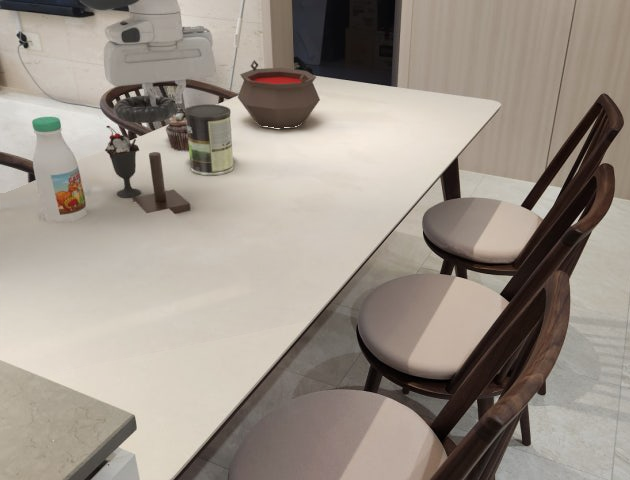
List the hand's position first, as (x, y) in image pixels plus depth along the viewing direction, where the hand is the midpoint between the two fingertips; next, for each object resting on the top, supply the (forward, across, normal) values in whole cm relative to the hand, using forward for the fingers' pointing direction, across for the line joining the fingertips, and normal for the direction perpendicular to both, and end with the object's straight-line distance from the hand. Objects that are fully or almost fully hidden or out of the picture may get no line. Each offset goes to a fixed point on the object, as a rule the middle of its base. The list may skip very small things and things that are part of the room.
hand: (166, 104), depth 123 cm
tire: (0, +4, 0) cm, 4 cm away
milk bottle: (+21, +21, -4) cm, 30 cm away
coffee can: (+21, -15, -18) cm, 32 cm away
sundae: (+21, +7, -12) cm, 25 cm away
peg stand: (+21, +3, -1) cm, 21 cm away
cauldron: (+22, -48, -45) cm, 69 cm away
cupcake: (+21, -16, -37) cm, 45 cm away
